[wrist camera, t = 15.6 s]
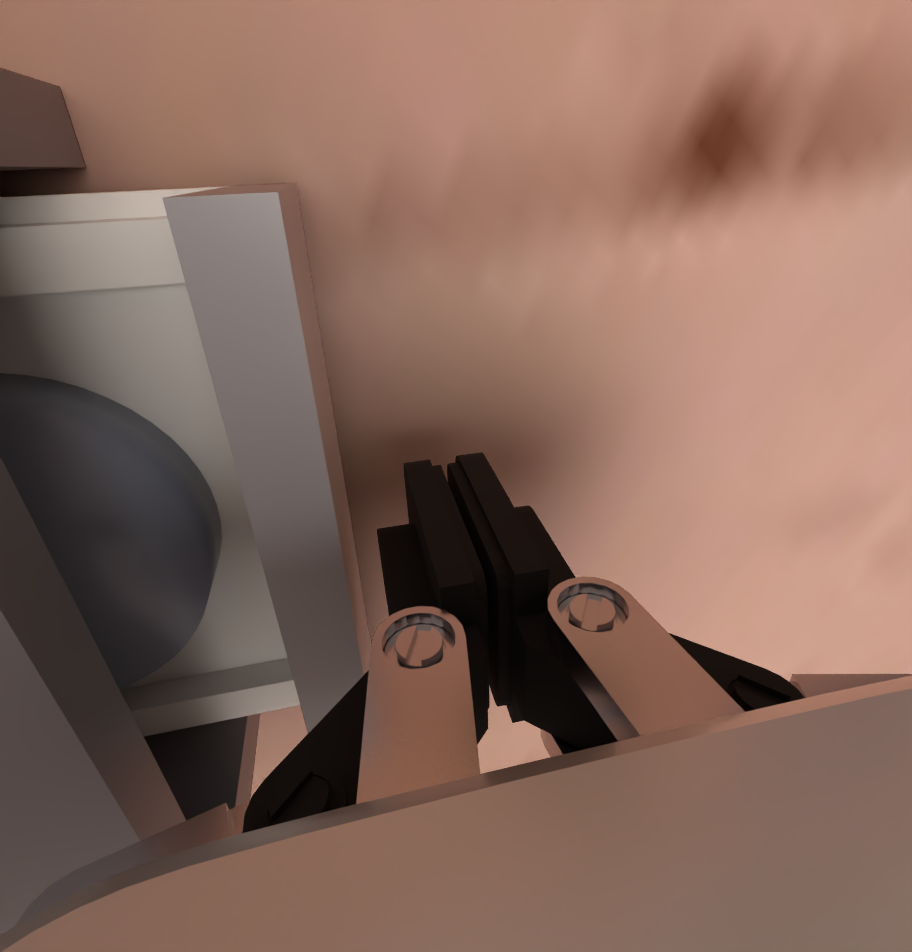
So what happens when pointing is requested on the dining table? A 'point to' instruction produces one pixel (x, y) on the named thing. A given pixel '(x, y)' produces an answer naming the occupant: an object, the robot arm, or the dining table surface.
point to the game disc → (114, 517)
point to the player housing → (78, 666)
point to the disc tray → (208, 419)
